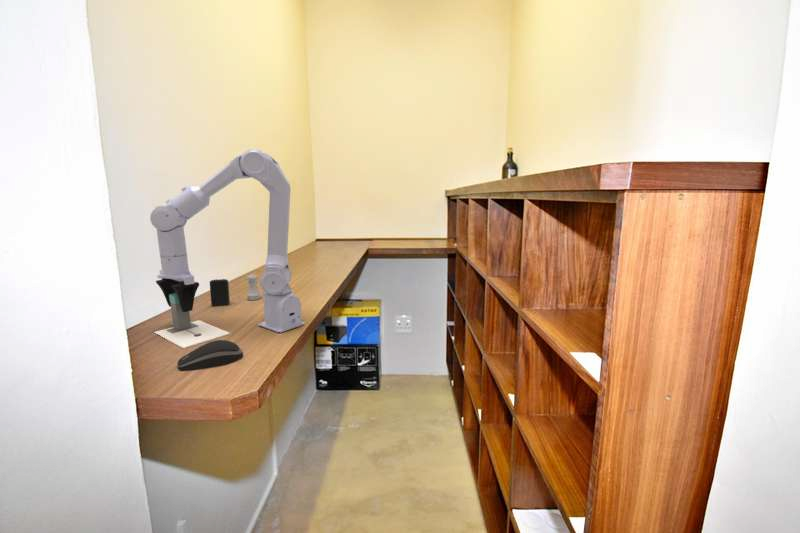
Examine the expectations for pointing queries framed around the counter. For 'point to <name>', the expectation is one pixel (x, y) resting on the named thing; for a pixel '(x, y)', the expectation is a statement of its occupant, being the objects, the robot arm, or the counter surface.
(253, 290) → the rook chess piece
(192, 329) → the paper sheet
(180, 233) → the robot arm
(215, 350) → the computer mouse
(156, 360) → the counter surface
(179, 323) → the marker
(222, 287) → the ink cartridge
